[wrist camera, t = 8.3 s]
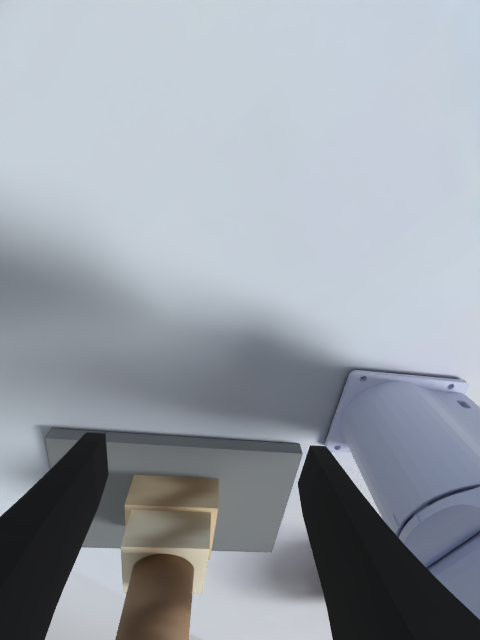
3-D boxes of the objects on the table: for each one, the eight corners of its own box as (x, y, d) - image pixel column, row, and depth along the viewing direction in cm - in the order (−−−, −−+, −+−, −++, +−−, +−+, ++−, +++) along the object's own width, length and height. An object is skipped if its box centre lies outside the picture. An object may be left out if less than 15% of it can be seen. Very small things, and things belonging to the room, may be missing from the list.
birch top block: (211, 512, 23) (209, 549, 20) (204, 556, 25) (202, 593, 23) (131, 509, 22) (120, 546, 20) (132, 554, 24) (123, 592, 22)
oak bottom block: (218, 478, 25) (218, 508, 22) (211, 529, 28) (209, 560, 25) (134, 474, 24) (124, 504, 22) (135, 526, 27) (126, 558, 25)
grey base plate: (299, 444, 25) (302, 453, 24) (270, 541, 30) (271, 552, 30) (51, 428, 23) (44, 438, 22) (70, 535, 28) (65, 546, 28)
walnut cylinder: (193, 553, 20) (184, 658, 16) (194, 586, 22) (186, 689, 18) (129, 554, 20) (101, 661, 16) (135, 587, 22) (112, 692, 17)
